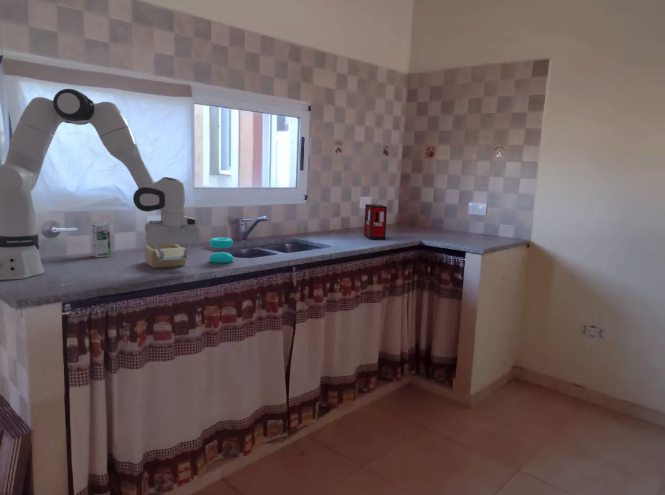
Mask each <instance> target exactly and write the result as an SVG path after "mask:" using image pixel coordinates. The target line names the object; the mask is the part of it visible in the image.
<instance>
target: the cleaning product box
mask: <svg viewBox="0 0 665 495" xmlns="http://www.w3.org/2000/svg"><path fill="white" fill-rule="evenodd" d="M364 205H365V206H364V207H365V208H364V209H365V210H364V228H363V231H364V232H363V236H364V237H365V238H367V239H369V240H370V241H385V240H386V234H387V233H386V232H387V228H386V227H387V211H388V208H387V206H386V205H382V204H376V203H375V204H373V203H372V204H371V203H366V204H364Z"/></svg>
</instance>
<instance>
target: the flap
mask: <svg viewBox="0 0 665 495" xmlns="http://www.w3.org/2000/svg"><path fill="white" fill-rule="evenodd" d="M180 247H181V248H165V249H160V250H161V252H164V257H159V252H158V250H157V249H154V251H155V253H156V255H157V257H158V259H159V261H169V260H182V259H185V260H190V259H191V258H190V254H189V255H184V250H186V248H185V247H182V246H180Z"/></svg>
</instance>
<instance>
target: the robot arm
mask: <svg viewBox="0 0 665 495" xmlns="http://www.w3.org/2000/svg"><path fill="white" fill-rule="evenodd" d="M52 99H53V100H52ZM52 99H49V98H48V97H42V96H37V97H34V98H32V99H31V100H30V101H29V102H28V104H27V105H26V107H25V108H24V110H23V112H22V114H21V115H20V118H19V119H18V122H17V124H16V127H15V129H14V131H13V133H12V136H11V138H10V141H9V145H8V151H7V154H6V157H5V161H4V163H3V164H0V281H5V280H23V279H26V278H27V279H28V278H31V277H34V276H39V275H41V274H44V273H45V269H44V265H43V262H42V260H41V255H40V250H39V249H40V237H39V234H38V232H37V219H36V218H37V217H36V210H35V207H34V203H33V200H32V199H33V198H32V194H31V191H33V190H34V189H35V187H36V185H37V182H38V179H39V176H40V174H41V170H42V168H43V164H44V160H45V157H46V155H47V153H48V151H49V148H50V146H51V143H52V141H53V139H54V138H55V137H54V136H55V134H56V132H57V129H58V127H59V126H60V125H61V124H62V123H66V124H72V125H78V126H81V125H82V126H84V125H87V124H90V125H91V126H93V128H94V129H95V131H96V133H97V135H98V137H99V139H100V141H101V143H102V145H103V146H104V148H105V149H106V150H107V152H108V153H109V154H110V155H111V156H112V157H114V158H115V159H116V160H117V161H120V162H121V163H122V164H123V165H124V166H125V167H126V169H127V170H128V171H129V174H130V175H131V178H132V179H133V181H134V183H135V184H136V186H137V190H135V192H134V194H133V196H132V197H133V204H134V206H135V207H136V208H137V209H138V210H139V211H143V212H146V213H147V212H149V213H150V212H153V211H160V220H149V221H148V222H146V223H145V224H144V231H145V245H146V246H156V249H157V250H158V252H159V257H164V252H161V250H160V248H161V245H174V244H176V245H185V246H186V248H185V250H184V255H189V256H190V253H189V252H190V249H191V248H192V244H199V243H200V242H201V239H202V238H201V237H202V236H201V229H200V227H199V225H198V223H199V221H198V219H196V218H194V217H190V216H188V215H186V210H185V202H186V196H185V186H184V183H183V182H182V181H181V180H180V179H177V178H174V177H168V176H167V177H166V176H165V177H161V179H158V180H157V181H154V179H153V177H152V176H151V173H150V172H149V169H147V166H146V164H145V162H144V161H143V158H142V156H141V153H140V150H139V147H138V143H137V140H136V138H135V135H134V133H133V131H132V129H131V127H130V125H129V123H128V121H127V119H126V118H125V116H124V115H123V113H122V111H121V110H120V109H119V107H117V105H116V104H115V103H113V102H111V101H101V102H98V103H95V102H94V101H93V100H92V99H91V98H89V97H88V96H87V95H86V94H84V93H83V92H81V91H79V90H76V89H73V88H65V89H64V88H63V89H61V90H59V91H58V92H56V94H55V95H54V97H53V98H52Z"/></svg>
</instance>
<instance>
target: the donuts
mask: <svg viewBox="0 0 665 495" xmlns="http://www.w3.org/2000/svg"><path fill="white" fill-rule="evenodd" d="M208 243H209V245H210V246H211V247H212V248H216V249H226V248H230V247H232V246H233V245H234V240H233V239H232V238H229V237H213V238H211V239H210V240H209V241H208ZM233 260H234V256H233V255H232V254H231V253H229V252H222V251H221V252H220V251H219V252H214V253H212V254H211V255H209V261H210V262H211V263H213V264H229V263H231V262H233Z"/></svg>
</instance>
